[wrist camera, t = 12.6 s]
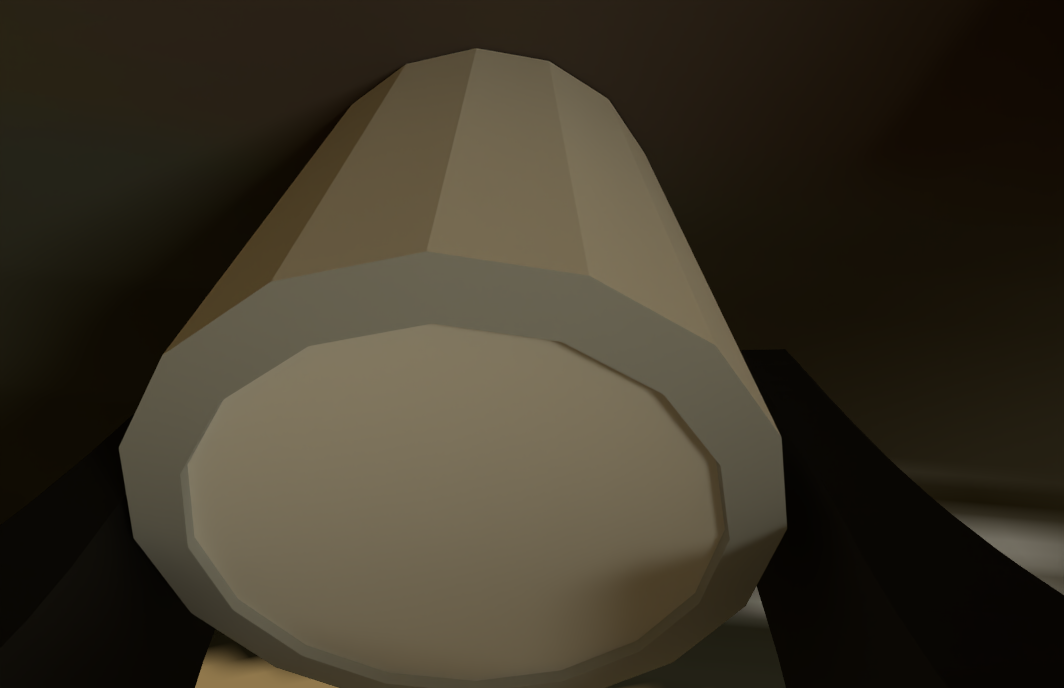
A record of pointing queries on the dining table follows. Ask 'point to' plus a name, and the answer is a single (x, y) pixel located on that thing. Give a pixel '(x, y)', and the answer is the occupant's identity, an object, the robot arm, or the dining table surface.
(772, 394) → the robot arm
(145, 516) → the shot glass
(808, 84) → the dining table surface
